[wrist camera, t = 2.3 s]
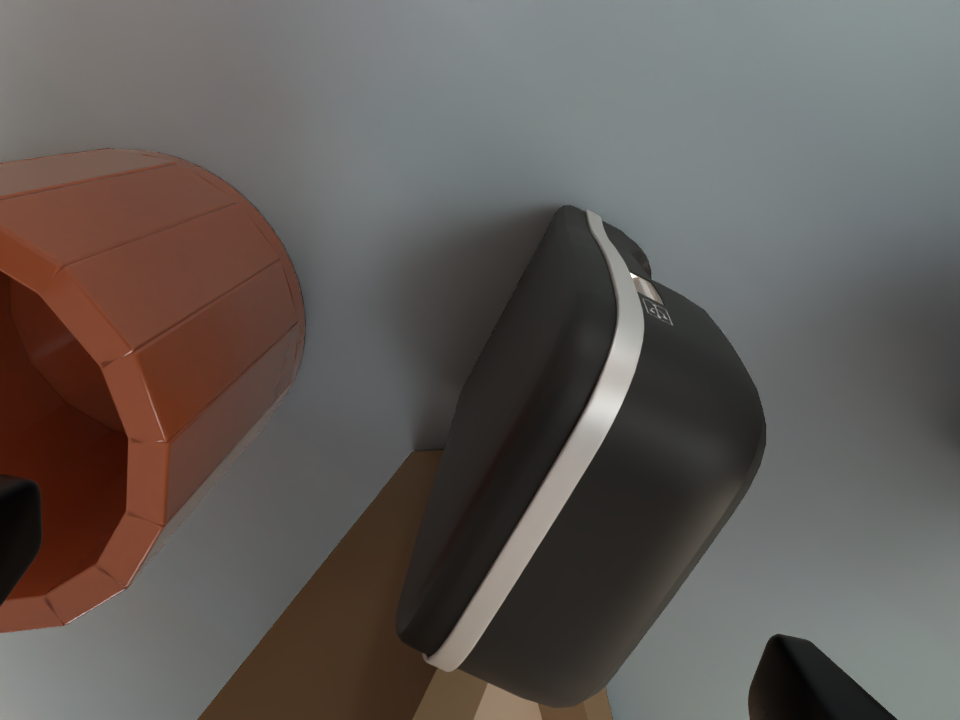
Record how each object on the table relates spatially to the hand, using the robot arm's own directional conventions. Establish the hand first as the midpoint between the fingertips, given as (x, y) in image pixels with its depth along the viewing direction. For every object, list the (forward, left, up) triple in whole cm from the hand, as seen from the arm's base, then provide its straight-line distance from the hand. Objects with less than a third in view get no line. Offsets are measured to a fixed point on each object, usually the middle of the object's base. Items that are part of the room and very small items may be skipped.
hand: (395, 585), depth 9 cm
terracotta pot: (+10, +2, -13) cm, 16 cm away
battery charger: (-2, 0, -13) cm, 13 cm away
